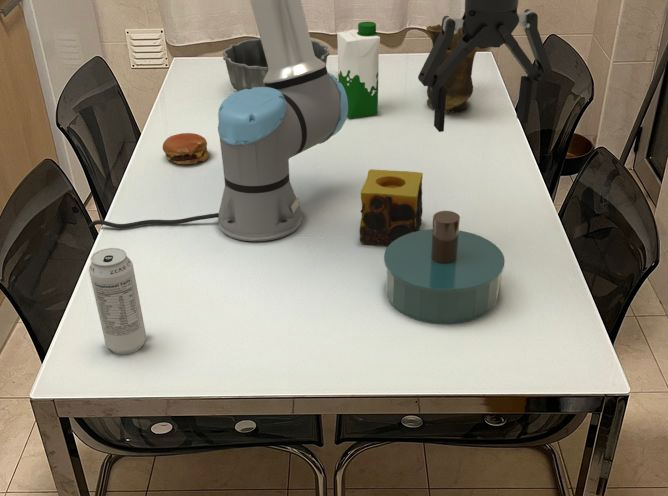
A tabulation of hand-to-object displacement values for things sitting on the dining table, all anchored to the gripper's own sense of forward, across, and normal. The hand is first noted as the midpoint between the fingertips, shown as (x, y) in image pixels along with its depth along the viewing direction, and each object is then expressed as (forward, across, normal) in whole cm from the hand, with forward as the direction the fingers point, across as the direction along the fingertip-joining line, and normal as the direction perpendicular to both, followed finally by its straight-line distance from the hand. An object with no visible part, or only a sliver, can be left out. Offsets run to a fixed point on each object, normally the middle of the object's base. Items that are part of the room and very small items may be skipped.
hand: (480, 124), depth 130 cm
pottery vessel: (+23, +18, +68) cm, 74 cm away
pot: (+23, -8, -11) cm, 27 cm away
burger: (+23, -45, +53) cm, 73 cm away
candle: (+23, -11, +10) cm, 28 cm away
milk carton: (+23, -4, +70) cm, 73 cm away
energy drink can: (+23, -58, -14) cm, 64 cm away
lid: (+17, -8, -11) cm, 22 cm away
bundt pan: (+23, -20, +89) cm, 94 cm away
